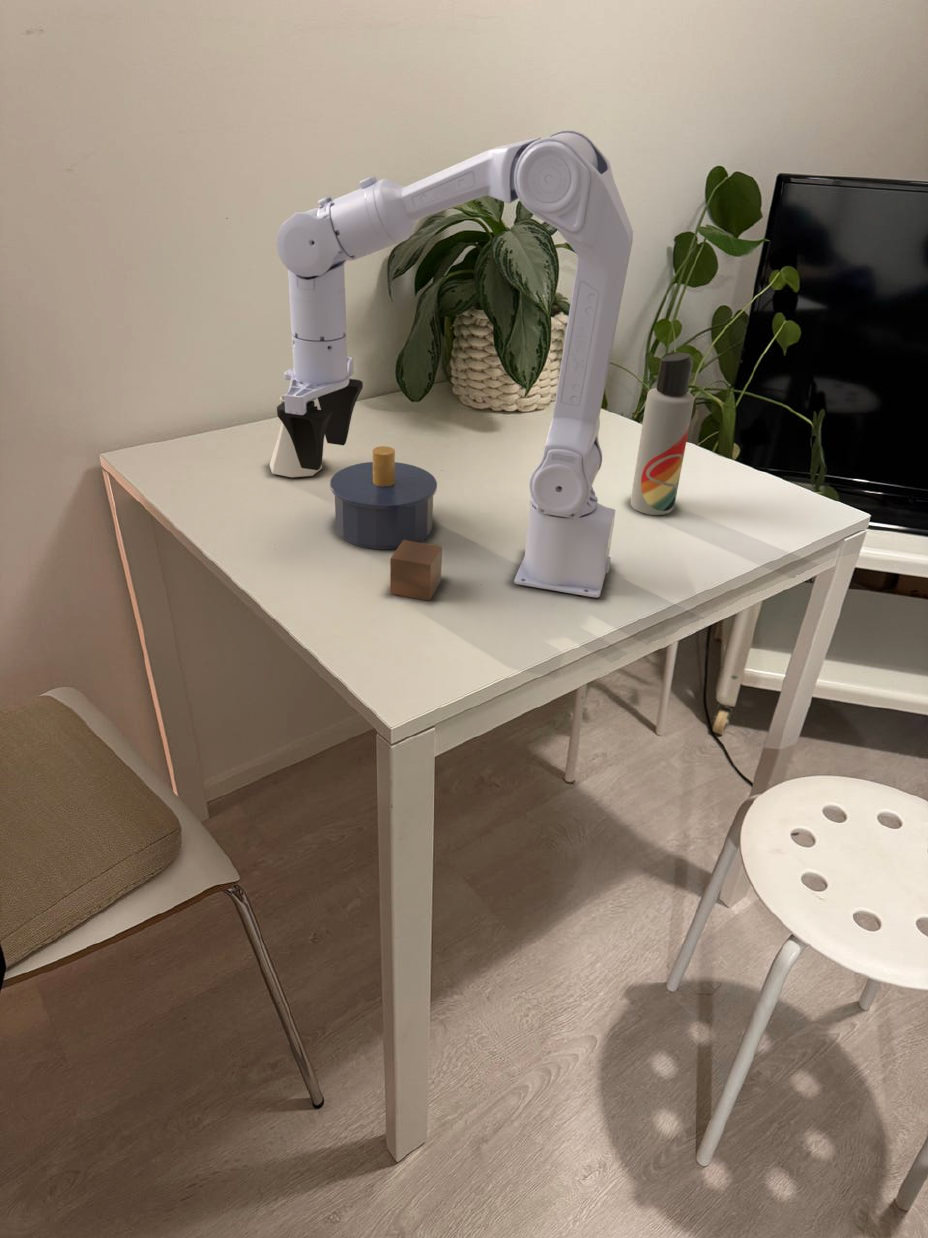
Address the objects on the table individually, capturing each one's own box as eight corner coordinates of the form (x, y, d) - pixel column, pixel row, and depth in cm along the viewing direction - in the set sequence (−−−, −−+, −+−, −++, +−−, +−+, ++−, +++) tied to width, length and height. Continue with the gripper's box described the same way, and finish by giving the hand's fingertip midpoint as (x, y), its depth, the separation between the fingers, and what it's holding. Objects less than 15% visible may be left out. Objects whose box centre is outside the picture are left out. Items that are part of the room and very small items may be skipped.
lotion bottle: (673, 518, 116) (702, 363, 105) (628, 512, 117) (653, 358, 106) (673, 500, 121) (701, 350, 110) (631, 494, 122) (654, 345, 111)
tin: (442, 514, 114) (444, 474, 111) (415, 556, 104) (415, 514, 102) (355, 500, 116) (355, 461, 113) (321, 540, 107) (319, 498, 104)
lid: (449, 478, 112) (450, 438, 109) (418, 521, 101) (419, 479, 99) (352, 463, 114) (351, 424, 111) (313, 504, 104) (311, 462, 101)
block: (440, 581, 100) (442, 546, 98) (429, 601, 96) (430, 564, 94) (402, 574, 101) (403, 539, 98) (390, 594, 97) (390, 558, 95)
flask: (318, 480, 121) (315, 408, 115) (264, 477, 121) (258, 405, 115) (326, 459, 127) (323, 389, 122) (274, 456, 127) (269, 386, 121)
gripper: (310, 313, 102) (316, 428, 109) (253, 347, 90) (263, 474, 97) (370, 320, 101) (371, 436, 108) (319, 356, 89) (324, 484, 96)
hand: (323, 455), depth 102 cm, fingers open, 7 cm apart
